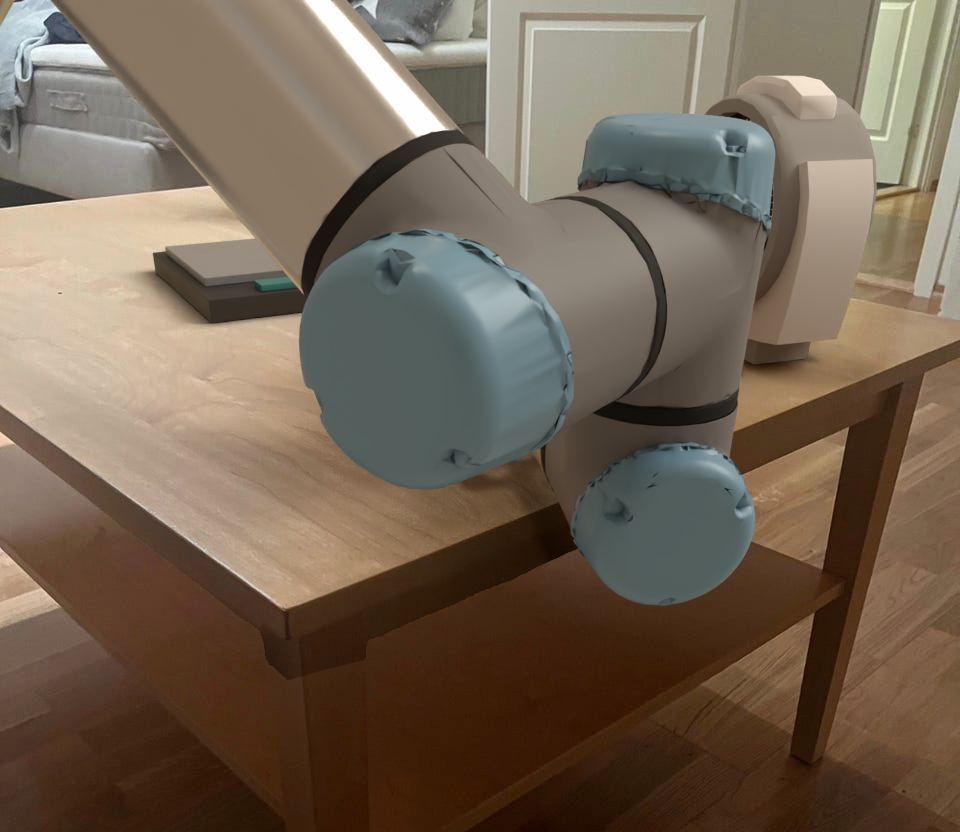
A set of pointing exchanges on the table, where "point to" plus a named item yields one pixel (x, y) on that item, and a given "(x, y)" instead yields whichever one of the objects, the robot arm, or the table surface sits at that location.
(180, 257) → the scale
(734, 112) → the alarm clock
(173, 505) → the table surface
